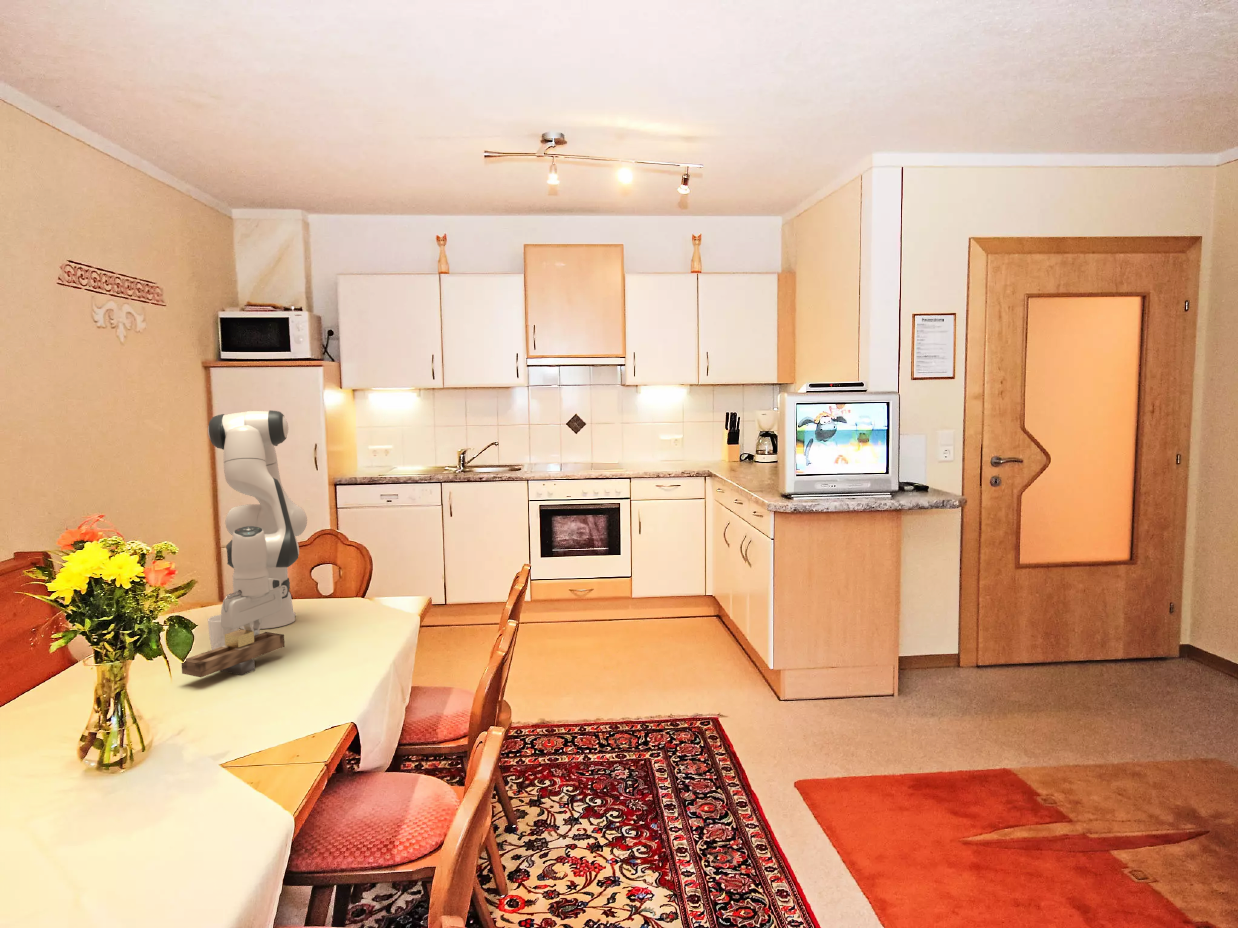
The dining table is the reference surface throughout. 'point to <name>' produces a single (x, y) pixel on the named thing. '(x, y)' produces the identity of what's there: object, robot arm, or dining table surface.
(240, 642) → the rider
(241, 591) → the robot arm
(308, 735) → the dining table surface
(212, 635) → the white cup
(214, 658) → the beam
